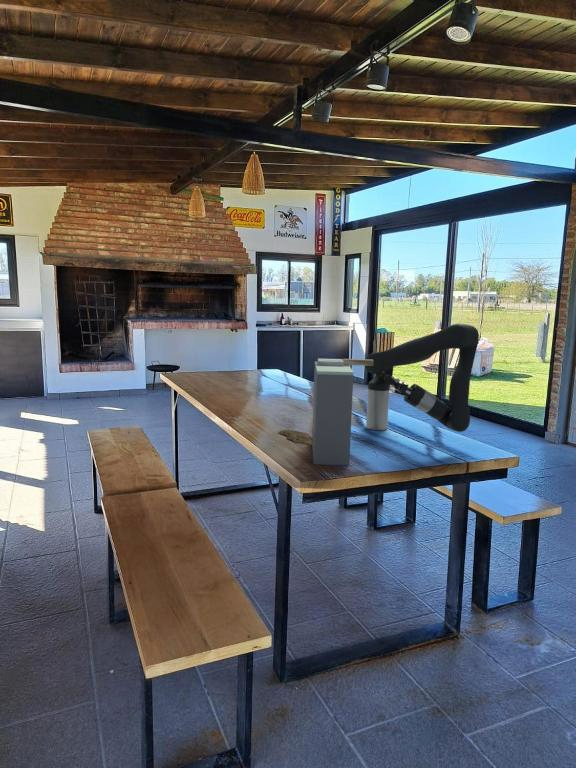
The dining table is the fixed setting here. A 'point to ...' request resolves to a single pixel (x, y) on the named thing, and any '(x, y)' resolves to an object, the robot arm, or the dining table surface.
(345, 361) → the hammer
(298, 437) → the wooden fragment
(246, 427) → the dining table surface
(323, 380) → the blue-grey rectangular block
